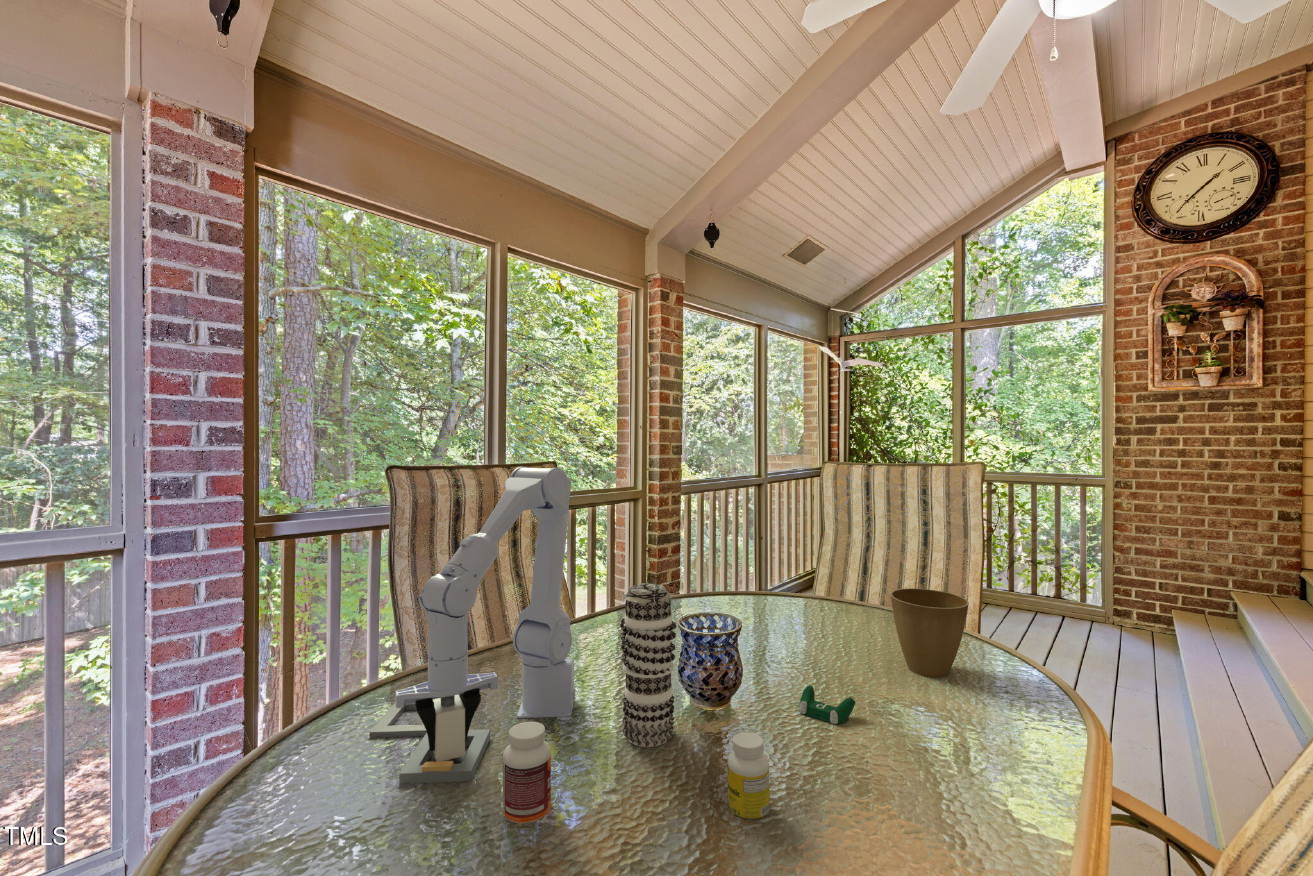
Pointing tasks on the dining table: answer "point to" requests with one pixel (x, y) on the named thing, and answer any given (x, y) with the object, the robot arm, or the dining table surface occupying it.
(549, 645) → the robot arm
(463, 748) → the plug
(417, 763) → the port
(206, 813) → the dining table surface
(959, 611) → the plant pot
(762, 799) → the supplement bottle
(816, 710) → the gaming controller
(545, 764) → the pill bottle
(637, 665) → the decorative candle
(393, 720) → the square frame plate
